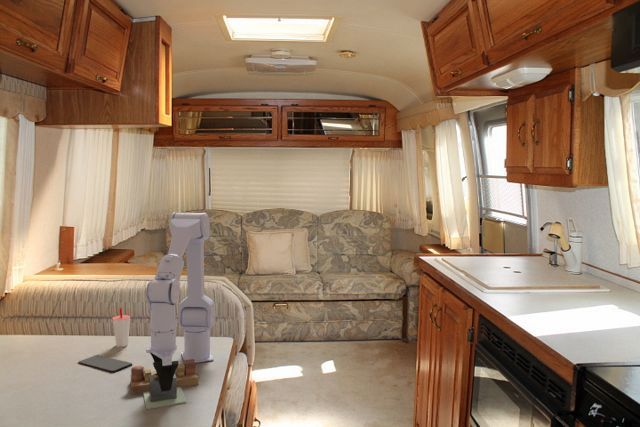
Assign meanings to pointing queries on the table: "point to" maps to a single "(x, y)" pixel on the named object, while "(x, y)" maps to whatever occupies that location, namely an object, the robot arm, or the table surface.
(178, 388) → the mat
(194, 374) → the block sculpture plaque
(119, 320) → the cup
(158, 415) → the table surface
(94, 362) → the smartphone
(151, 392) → the grey block
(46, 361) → the table surface
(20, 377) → the table surface
